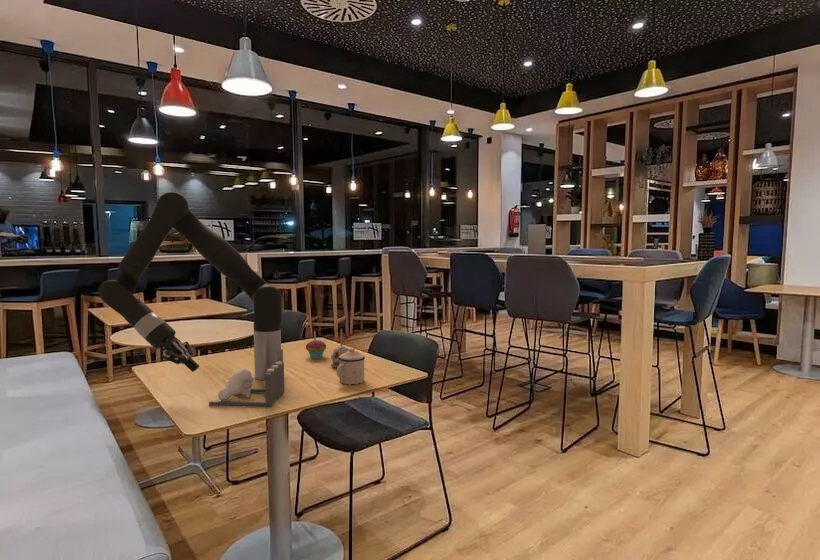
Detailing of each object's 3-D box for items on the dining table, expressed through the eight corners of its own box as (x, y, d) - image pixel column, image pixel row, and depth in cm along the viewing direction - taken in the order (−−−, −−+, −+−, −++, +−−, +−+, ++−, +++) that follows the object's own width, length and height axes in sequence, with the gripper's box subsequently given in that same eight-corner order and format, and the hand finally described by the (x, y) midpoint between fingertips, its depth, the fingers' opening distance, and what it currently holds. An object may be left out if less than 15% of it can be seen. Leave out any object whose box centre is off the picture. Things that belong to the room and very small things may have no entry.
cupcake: (324, 360, 190) (323, 331, 189) (303, 359, 190) (303, 331, 189) (328, 354, 198) (327, 327, 197) (308, 354, 198) (307, 327, 197)
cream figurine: (254, 367, 147) (226, 382, 136) (257, 393, 148) (229, 409, 137) (239, 365, 149) (210, 379, 138) (241, 390, 151) (213, 405, 140)
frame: (285, 391, 150) (284, 359, 149) (271, 407, 136) (270, 372, 135) (227, 391, 151) (227, 359, 150) (208, 406, 137) (207, 371, 136)
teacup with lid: (350, 375, 168) (350, 344, 167) (370, 380, 163) (370, 347, 162) (327, 384, 158) (327, 351, 157) (347, 389, 153) (347, 354, 152)
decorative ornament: (328, 365, 182) (328, 327, 181) (346, 362, 186) (346, 326, 185) (336, 370, 176) (335, 331, 174) (354, 367, 179) (354, 329, 178)
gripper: (150, 325, 135) (194, 366, 136) (174, 317, 148) (213, 355, 149) (133, 343, 136) (177, 384, 137) (159, 334, 149) (198, 371, 150)
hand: (196, 369), depth 143 cm, fingers closed
